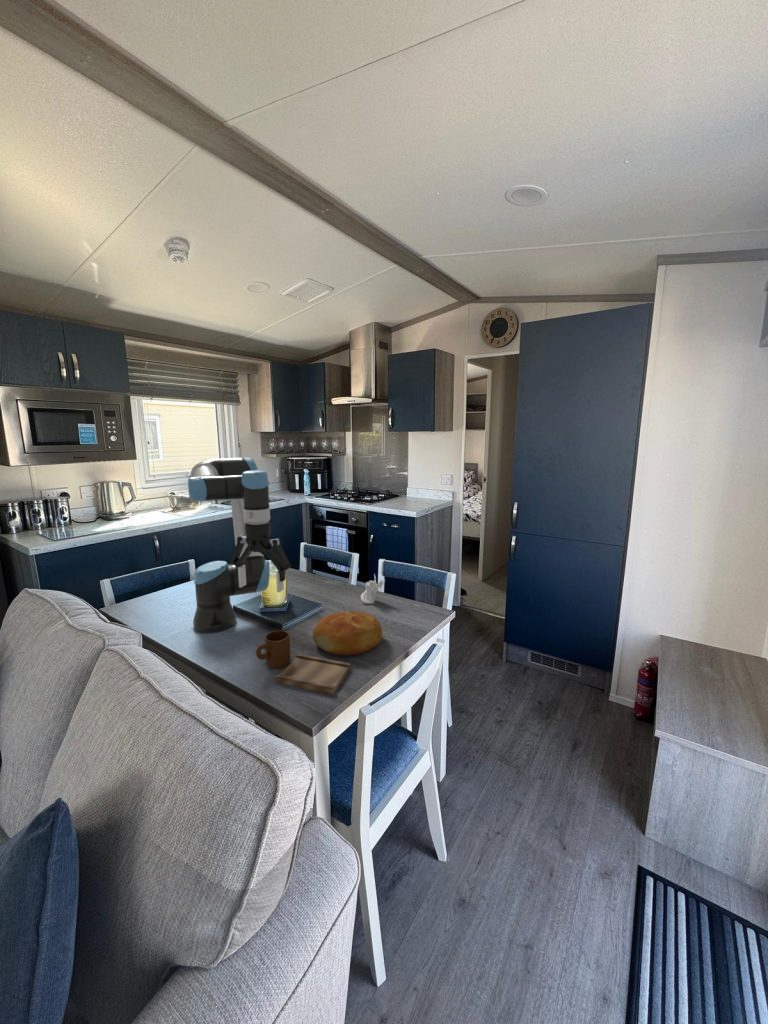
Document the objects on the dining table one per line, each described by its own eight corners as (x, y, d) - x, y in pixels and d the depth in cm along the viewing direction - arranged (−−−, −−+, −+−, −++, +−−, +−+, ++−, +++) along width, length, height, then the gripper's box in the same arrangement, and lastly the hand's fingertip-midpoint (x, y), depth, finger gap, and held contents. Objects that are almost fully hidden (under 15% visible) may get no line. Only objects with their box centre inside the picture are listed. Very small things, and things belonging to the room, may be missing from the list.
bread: (334, 622, 163) (334, 598, 161) (391, 634, 154) (392, 608, 152) (301, 651, 143) (300, 623, 141) (365, 666, 134) (364, 637, 132)
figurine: (358, 603, 180) (357, 576, 178) (365, 596, 187) (365, 570, 185) (381, 607, 177) (382, 579, 174) (388, 600, 184) (388, 573, 181)
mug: (266, 679, 127) (264, 650, 125) (249, 671, 131) (247, 642, 129) (295, 661, 136) (294, 634, 134) (279, 654, 141) (278, 627, 139)
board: (276, 682, 125) (276, 676, 125) (298, 659, 137) (298, 653, 137) (332, 694, 120) (332, 687, 119) (350, 669, 132) (350, 663, 132)
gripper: (214, 521, 130) (220, 588, 134) (287, 527, 122) (290, 597, 126) (230, 517, 137) (235, 580, 141) (300, 522, 129) (302, 588, 133)
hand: (261, 588), depth 134 cm, fingers open, 13 cm apart
